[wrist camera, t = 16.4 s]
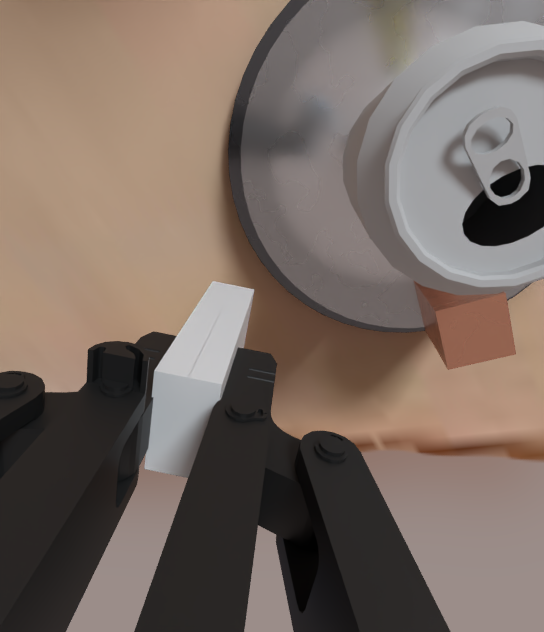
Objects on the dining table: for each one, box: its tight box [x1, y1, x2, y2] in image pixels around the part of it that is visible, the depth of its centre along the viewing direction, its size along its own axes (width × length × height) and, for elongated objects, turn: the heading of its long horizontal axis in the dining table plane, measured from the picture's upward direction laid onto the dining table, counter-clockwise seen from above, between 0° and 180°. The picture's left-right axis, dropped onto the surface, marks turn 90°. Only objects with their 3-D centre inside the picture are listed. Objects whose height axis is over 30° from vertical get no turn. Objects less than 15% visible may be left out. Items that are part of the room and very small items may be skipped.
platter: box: [241, 0, 544, 370], centre depth 21 cm, size 18×18×6 cm
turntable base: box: [228, 0, 533, 332], centre depth 25 cm, size 20×20×1 cm
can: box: [343, 21, 544, 295], centre depth 17 cm, size 8×8×12 cm
